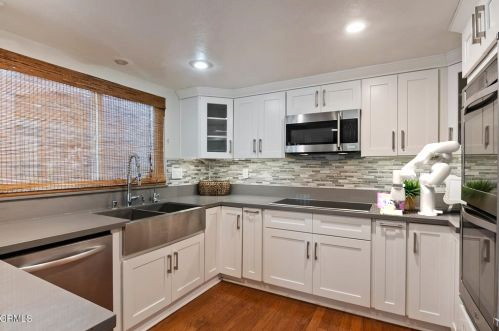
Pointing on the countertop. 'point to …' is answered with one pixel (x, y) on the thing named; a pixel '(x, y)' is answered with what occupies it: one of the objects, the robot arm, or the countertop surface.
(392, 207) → the block
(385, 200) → the gum box
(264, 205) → the countertop surface
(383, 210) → the trap board
